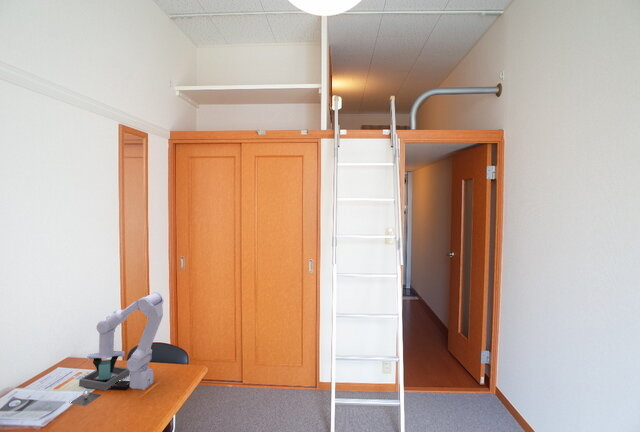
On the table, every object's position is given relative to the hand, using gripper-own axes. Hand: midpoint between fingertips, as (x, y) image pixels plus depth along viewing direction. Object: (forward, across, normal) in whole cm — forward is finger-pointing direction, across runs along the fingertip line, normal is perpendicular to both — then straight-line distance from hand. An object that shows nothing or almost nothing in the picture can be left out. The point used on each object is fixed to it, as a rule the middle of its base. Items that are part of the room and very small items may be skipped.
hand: (105, 372), depth 149 cm
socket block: (+2, 0, 0) cm, 2 cm away
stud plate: (+5, -4, -14) cm, 15 cm away
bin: (+5, 0, 0) cm, 5 cm away
